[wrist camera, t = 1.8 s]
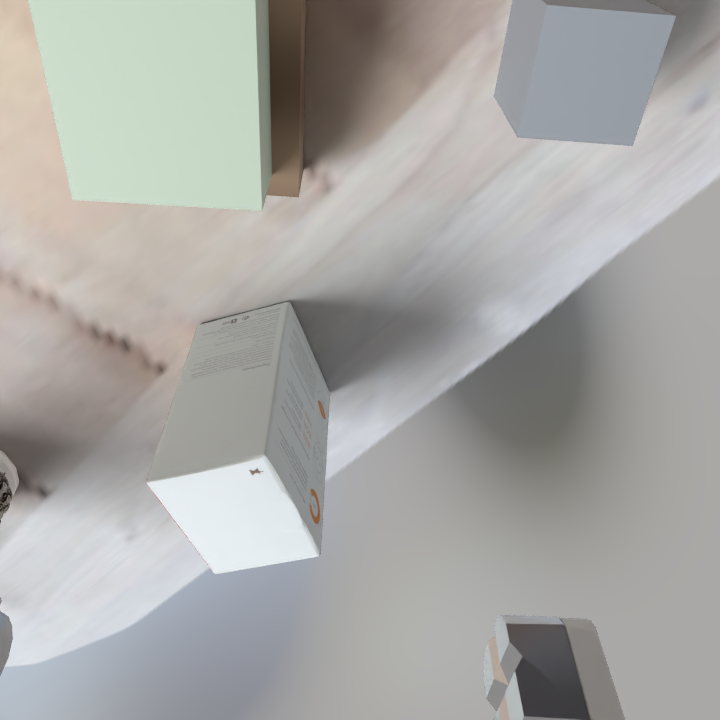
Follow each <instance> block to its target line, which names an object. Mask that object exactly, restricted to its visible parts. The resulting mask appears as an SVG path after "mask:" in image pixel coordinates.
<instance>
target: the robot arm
mask: <svg viewBox="0 0 720 720" xmlns="http://www.w3.org/2000/svg"><path fill="white" fill-rule="evenodd" d="M1 601H2V600H1V598H0V603H1ZM494 632H495V637H494V638H492V639H491V640H489V641H488V643H487V646H486V649H485V653H484V665H483V673H484V685H485V692H486V699H487V700H488V701H489V702H490V704H491V705H492V706H493V707H494V709H495V710H496V711H497V713H496V715H495V717H494V720H625V717H624V714H623V711H622V708H621V705H620V702H619V699H618V696H617V693H616V690H615V686H614V683H613V681H612V677H611V674H610V671H609V667H608V664H607V661H606V658H605V655H604V652H603V649H602V646H601V643H600V639H599V636H598V633H597V630H596V627H595V626H594V624H593V623H592V622H591V621H590V620H588V619H581V618H560V617H547V616H516V615H500V616H498V617H497V619H496V621H495V624H494ZM12 639H13V637H12V625H11V622H10V619H9V617H8V616H7V615H5V614H4V613H2V612H1V611H0V675H1V673H2V671H3V669H4V666H5V664H6V662H7V659H8V657H9V652H10V648H11V643H12Z"/></svg>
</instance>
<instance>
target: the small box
mask: <svg viewBox="0 0 720 720" xmlns="http://www.w3.org/2000/svg"><path fill="white" fill-rule="evenodd" d="M329 403H330V392H329V390H328V387H327V385H326V383H325V380H324V378H323V376H322V373H321V371H320V368H319V366H318V364H317V362H316V359H315V357H314V355H313V352H312V350H311V348H310V345H309V343H308V341H307V338H306V336H305V334H304V332H303V329H302V327H301V325H300V323H299V320H298V318H297V316H296V314H295V312H294V309H293V307H292V305H291V303H290V302H284V303H281V304H276V305H272V306H269V307H265V308H261V309H257V310H253V311H249V312H246V313H242V314H238V315H234V316H230V317H226V318H223V319H219V320H215V321H212V322H208V323H204V324H200V325H198V326H197V328H196V331H195V335H194V338H193V340H192V344H191V347H190V350H189V353H188V356H187V359H186V362H185V365H184V368H183V371H182V374H181V377H180V380H179V383H178V386H177V389H176V393H175V396H174V398H173V401H172V404H171V407H170V411H169V414H168V417H167V420H166V423H165V426H164V429H163V432H162V435H161V438H160V441H159V444H158V447H157V450H156V454H155V457H154V459H153V462H152V466H151V469H150V472H149V474H148V478H147V480H146V484H147V485H148V487H149V488H150V489H151V490H152V492H153V493H154V494H155V496H156V497H157V498H158V500H159V501H160V502H161V504H162V505H163V506H164V508H165V509H166V510H167V512H168V513H169V514H170V516H171V517H172V518H173V519H174V521H175V522H176V523H177V525H178V526H179V527H180V529H181V530H182V531H183V533H184V534H185V535H186V537H187V538H188V539H189V541H190V542H191V543H192V545H193V546H194V547H195V549H196V550H197V551H198V553H199V554H200V555H201V557H202V558H203V559H204V561H205V562H206V563H207V565H208V566H209V567H210V569H211V570H212V571H213V573H214V574H219V573H225V572H231V571H237V570H242V569H248V568H254V567H260V566H266V565H272V564H277V563H283V562H289V561H294V560H300V559H306V558H312V557H318V556H320V554H321V541H322V526H323V507H324V489H325V473H326V455H327V435H328V419H329Z"/></svg>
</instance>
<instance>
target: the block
mask: <svg viewBox="0 0 720 720" xmlns="http://www.w3.org/2000/svg"><path fill="white" fill-rule="evenodd" d="M675 19H676V15H674V14H672V13H670V12H668V11H666V10H664V9H662V8H660V7H658V6H656V5H654V4H652V3H650V2H648V1H646V0H513V1H512V6H511V11H510V16H509V22H508V27H507V32H506V37H505V42H504V47H503V52H502V58H501V63H500V68H499V73H498V78H497V83H496V88H495V94H494V97H495V99H496V100H497V102H498V104H499V106H500V107H501V109H502V111H503V113H504V114H505V116H506V118H507V120H508V121H509V123H510V125H511V127H512V129H513V130H514V132H515V134H516V136H517V137H520V138H534V139H547V140H560V141H574V142H587V143H601V144H614V145H627V146H633V143H634V140H635V137H636V134H637V131H638V128H639V125H640V123H641V120H642V117H643V114H644V111H645V108H646V105H647V102H648V99H649V96H650V93H651V90H652V87H653V84H654V81H655V78H656V75H657V72H658V69H659V66H660V63H661V60H662V57H663V54H664V51H665V48H666V45H667V42H668V40H669V37H670V34H671V31H672V28H673V25H674V22H675Z"/></svg>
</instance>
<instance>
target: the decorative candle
mask: <svg viewBox="0 0 720 720" xmlns="http://www.w3.org/2000/svg"><path fill="white" fill-rule="evenodd" d="M18 485H19V477H18V473H17V469H16V467H15V465H14V464H13V463H12V462H11V460H10V459H9V458H8V457H7V456H6V454H5V453H4V452H2V451H1V450H0V523H1V518H2V517H3V514H4V513H6V511H7V510H8V508H9V505H10V501H11V499H12V497H13V496H14V494H15V491H16V489H17V487H18Z"/></svg>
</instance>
